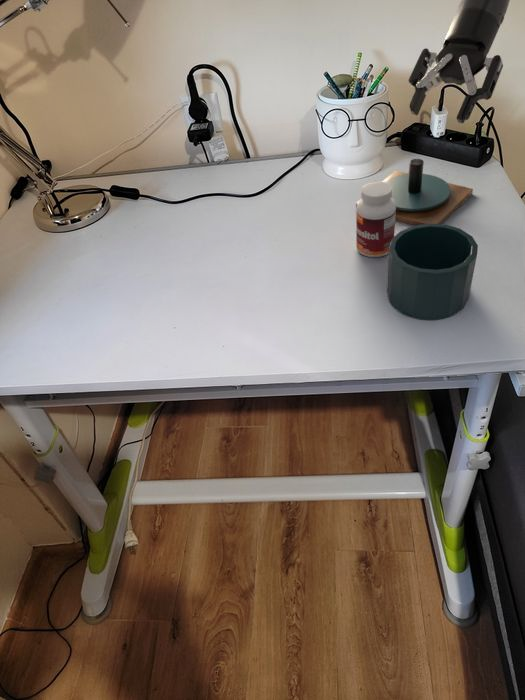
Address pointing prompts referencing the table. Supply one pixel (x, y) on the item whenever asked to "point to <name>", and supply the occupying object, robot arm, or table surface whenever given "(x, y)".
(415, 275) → the pot
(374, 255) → the pill bottle
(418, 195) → the lid
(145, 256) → the table surface
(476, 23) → the robot arm
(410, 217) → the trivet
